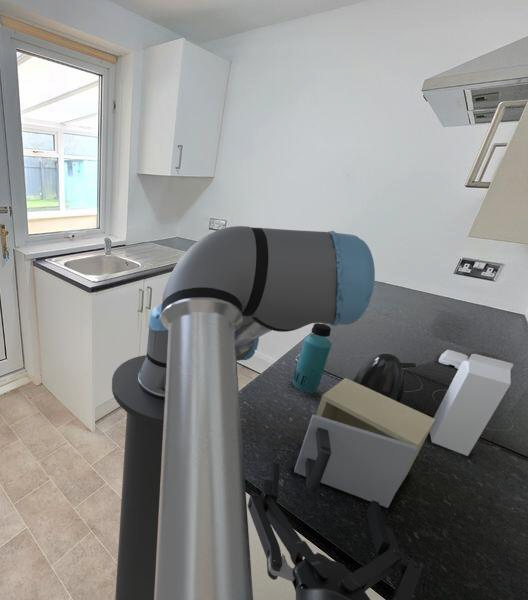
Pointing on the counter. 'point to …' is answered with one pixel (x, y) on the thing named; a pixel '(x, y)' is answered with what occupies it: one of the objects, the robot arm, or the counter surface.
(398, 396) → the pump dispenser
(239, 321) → the robot arm
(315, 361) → the beverage bottle
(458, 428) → the milk
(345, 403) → the oven
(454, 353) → the soap
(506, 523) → the counter surface
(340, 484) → the oven door
